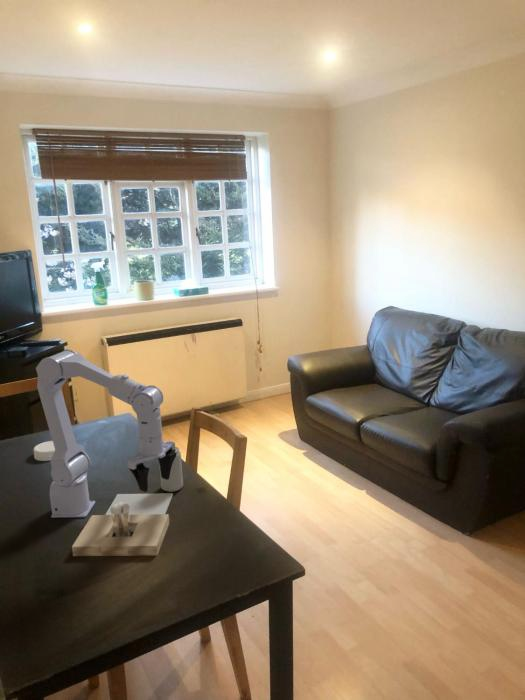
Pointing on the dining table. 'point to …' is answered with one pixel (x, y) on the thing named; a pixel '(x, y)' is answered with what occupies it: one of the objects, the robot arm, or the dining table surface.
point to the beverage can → (173, 475)
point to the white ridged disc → (44, 451)
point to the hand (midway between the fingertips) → (154, 484)
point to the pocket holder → (142, 542)
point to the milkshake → (121, 519)
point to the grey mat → (144, 503)
